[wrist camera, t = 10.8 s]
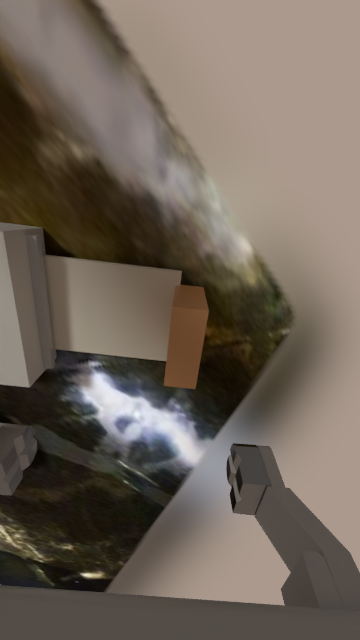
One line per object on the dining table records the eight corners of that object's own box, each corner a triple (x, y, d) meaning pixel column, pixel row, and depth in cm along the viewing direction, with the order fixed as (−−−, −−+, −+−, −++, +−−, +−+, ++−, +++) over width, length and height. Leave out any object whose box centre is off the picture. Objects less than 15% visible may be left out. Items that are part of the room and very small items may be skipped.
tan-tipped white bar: (-11, 248, 25) (-79, 259, 19) (205, 273, 26) (211, 293, 19) (7, 341, 29) (-42, 376, 23) (191, 361, 30) (193, 401, 23)
